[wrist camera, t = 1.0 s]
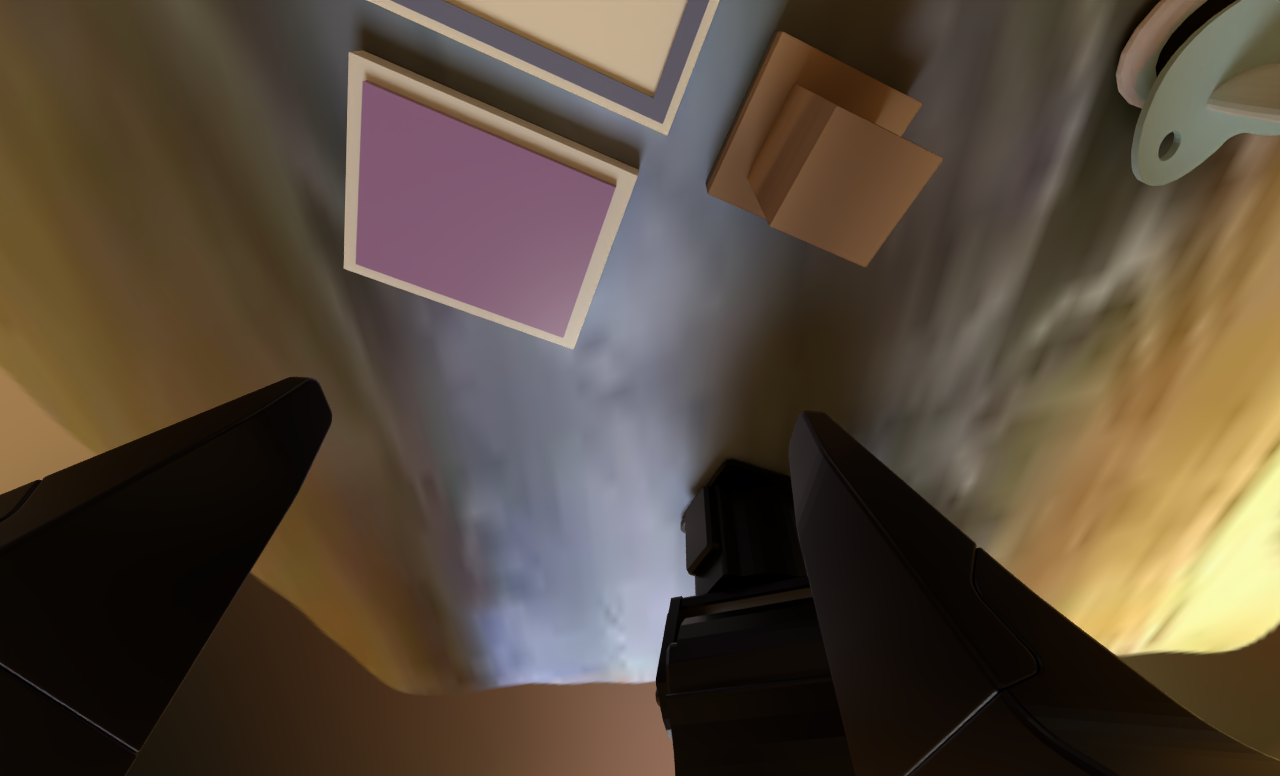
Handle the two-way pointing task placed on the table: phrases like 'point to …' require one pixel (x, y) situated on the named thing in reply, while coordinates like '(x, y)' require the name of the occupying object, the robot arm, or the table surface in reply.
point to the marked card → (584, 45)
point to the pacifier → (1200, 84)
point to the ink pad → (475, 203)
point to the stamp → (822, 152)
